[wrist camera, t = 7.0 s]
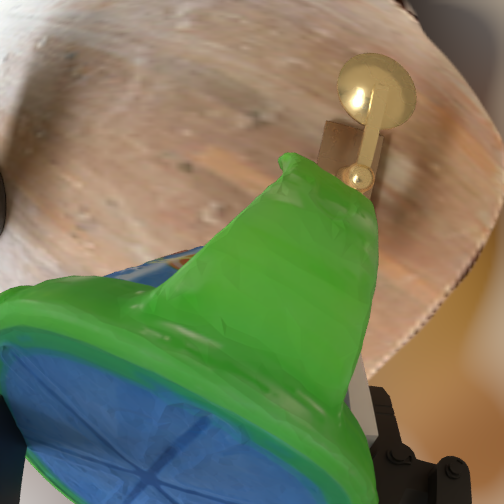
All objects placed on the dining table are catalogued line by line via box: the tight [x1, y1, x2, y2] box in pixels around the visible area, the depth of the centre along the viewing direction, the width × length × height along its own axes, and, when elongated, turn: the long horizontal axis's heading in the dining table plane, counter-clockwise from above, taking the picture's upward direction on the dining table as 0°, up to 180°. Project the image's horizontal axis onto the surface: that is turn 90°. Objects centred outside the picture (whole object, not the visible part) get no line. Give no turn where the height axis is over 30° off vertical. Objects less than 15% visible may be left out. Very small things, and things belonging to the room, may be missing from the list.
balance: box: [317, 53, 416, 200], centre depth 24 cm, size 6×20×11 cm, turn 168°
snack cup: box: [0, 153, 379, 504], centre depth 10 cm, size 16×10×10 cm
